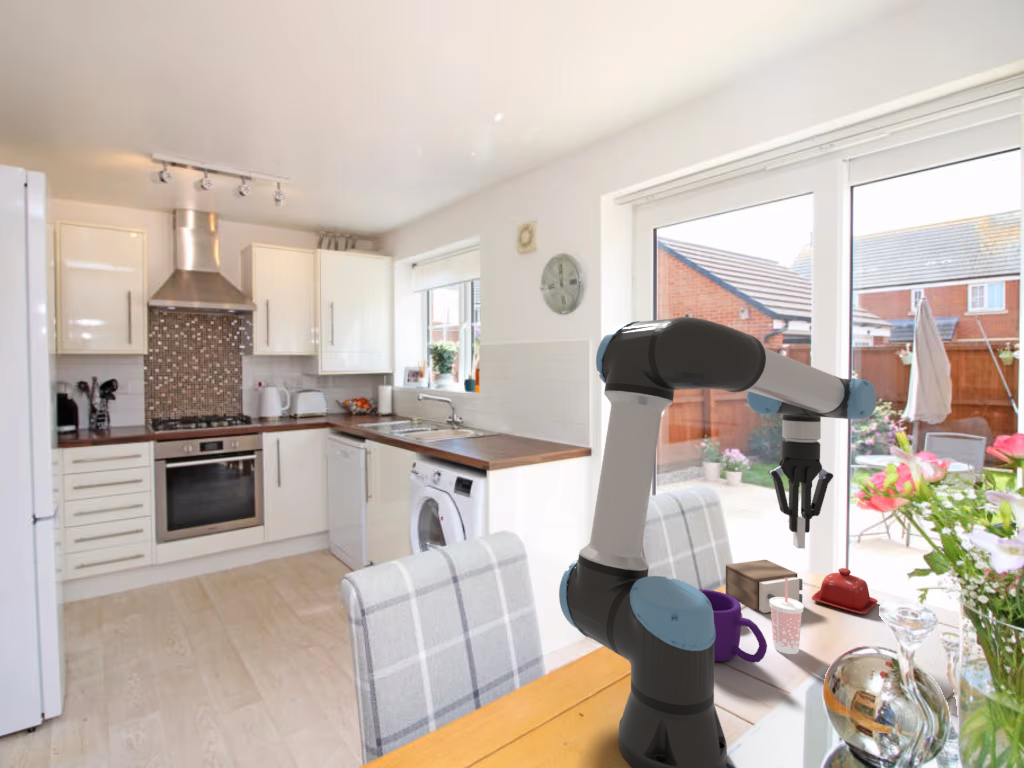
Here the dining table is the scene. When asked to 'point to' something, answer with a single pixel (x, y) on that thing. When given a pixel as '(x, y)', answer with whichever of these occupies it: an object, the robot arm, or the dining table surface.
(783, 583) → the door
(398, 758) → the dining table surface
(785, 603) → the beverage cup
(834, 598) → the butter dish
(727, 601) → the mug
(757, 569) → the cabinet
